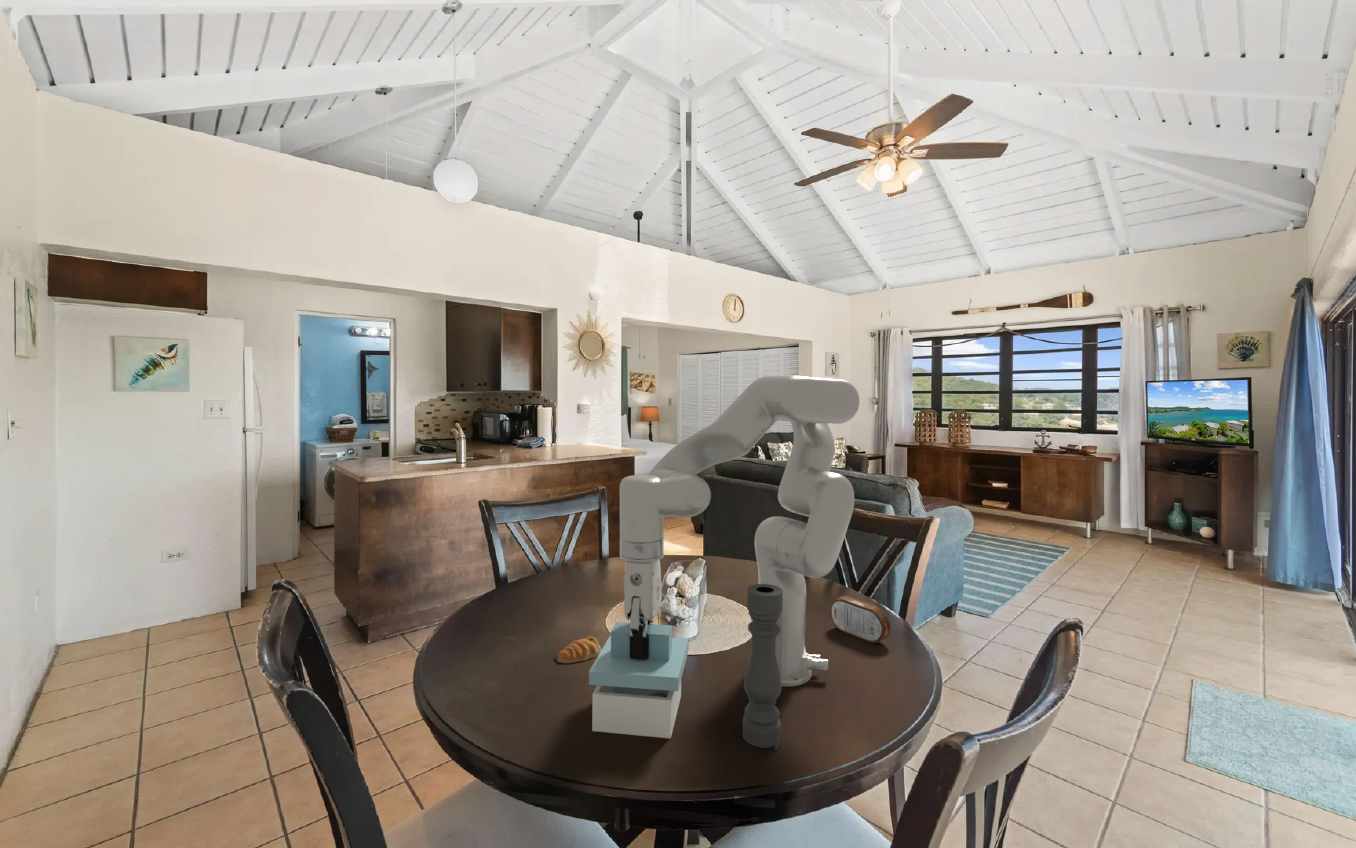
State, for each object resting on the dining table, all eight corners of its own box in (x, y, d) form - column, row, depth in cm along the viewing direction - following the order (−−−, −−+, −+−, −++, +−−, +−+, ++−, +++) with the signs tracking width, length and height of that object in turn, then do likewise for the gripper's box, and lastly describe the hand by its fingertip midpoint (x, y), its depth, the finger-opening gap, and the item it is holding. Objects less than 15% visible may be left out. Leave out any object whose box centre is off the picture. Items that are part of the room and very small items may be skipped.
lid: (688, 650, 106) (688, 614, 105) (678, 691, 91) (678, 650, 91) (611, 645, 108) (611, 610, 107) (589, 684, 93) (588, 644, 93)
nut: (667, 704, 103) (667, 693, 102) (665, 713, 100) (665, 702, 100) (651, 702, 103) (651, 691, 103) (648, 711, 100) (648, 700, 100)
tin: (890, 646, 130) (891, 609, 130) (882, 649, 128) (884, 612, 128) (835, 624, 142) (836, 591, 141) (827, 627, 140) (828, 593, 140)
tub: (680, 700, 105) (681, 663, 105) (670, 743, 92) (671, 700, 92) (611, 694, 107) (612, 657, 107) (592, 735, 94) (592, 693, 94)
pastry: (566, 672, 116) (566, 653, 116) (549, 661, 121) (549, 643, 120) (604, 658, 122) (604, 640, 122) (586, 648, 127) (586, 631, 127)
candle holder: (776, 729, 97) (780, 583, 95) (784, 752, 91) (788, 596, 89) (739, 729, 97) (743, 583, 95) (745, 752, 90) (748, 596, 89)
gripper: (655, 563, 89) (655, 677, 91) (670, 536, 106) (670, 633, 107) (608, 561, 90) (608, 674, 92) (630, 534, 107) (631, 630, 108)
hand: (642, 651), depth 99 cm, fingers closed on lid, 4 cm apart
